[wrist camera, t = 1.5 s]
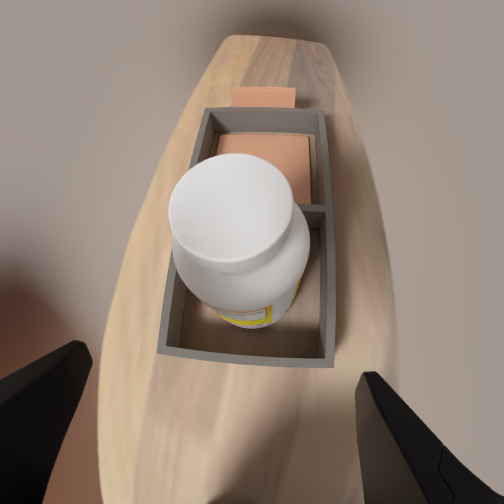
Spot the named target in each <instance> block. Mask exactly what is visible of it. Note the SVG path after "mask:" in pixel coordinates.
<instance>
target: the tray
mask: <svg viewBox="0 0 504 504" xmlns="http://www.w3.org/2000/svg"><path fill="white" fill-rule="evenodd" d="M231 95H232V102H233V107H219V108H205V111H204V114H203V118H202V121H201V125H200V128H199V132H198V136H197V140H196V143H195V147H194V151H193V155H192V159H191V163H190V167H189V170H190V169H191V168H192V167H194V166H195V165H197V164H198V163H200V162H202V161H204V160H206V159H208V158H209V156H210V151H211V147H212V142H213V138H214V133H215V132H231V131H255V132H288V133H306V134H315V143H316V157H317V173H318V192H319V205H315V204H311V185H310V160H309V142H308V137H306V136H288V135H256V134H228V135H220V139H219V144H218V148H217V154H216V156H218V155H222V154H229V153H243V154H249V155H254V156H257V157H260V158H262V159H264V160H266V161H268V162H270V163H271V164H273V165H274V166H275V167H277V168H278V169H279V170H280V171H281V172H282V173H283V174H284V176H285V177H286V179H287V181H288V182H289V184H290V186H291V189H292V193H293V198H294V202H295V203H296V204H297V205H298V206H299V208H300V209H301V211H302V213H303V215H304V217H305V219H306V222H307V225H308V229H320V319H319V344H318V359H306V358H279V357H261V356H247V355H235V354H225V353H215V352H206V351H198V350H190V349H183V348H179V346H180V337H181V328H182V319H183V311H184V303H185V296H186V288H187V286H186V285H185V283H184V282H183V280H182V279H181V277H180V276H179V274H178V272H177V269H176V266H175V263H174V259H173V253H172V251H171V257H170V263H169V269H168V275H167V281H166V287H165V294H164V301H163V308H162V315H161V323H160V331H159V339H158V348H157V353H158V354H164V355H170V356H177V357H184V358H191V359H198V360H206V361H215V362H224V363H234V364H246V365H259V366H275V367H301V368H334V353H335V326H336V259H335V230H334V212H333V196H332V183H331V172H330V161H329V151H328V142H327V134H326V126H325V118H324V111H323V110H316V109H302V108H295V88H285V87H232V90H231Z"/></svg>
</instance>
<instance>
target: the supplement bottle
mask: <svg viewBox="0 0 504 504" xmlns="http://www.w3.org/2000/svg"><path fill="white" fill-rule="evenodd" d="M168 211H169V212H168V215H169V223H170V226H171V229H172V232H173V240H172V253H173V259H174V263H175V266H176V269H177V272H178V274H179V276H180V277H181V279H182V280H183V282H184V283H185V285H186V286H187V287H188V288H189V289H190V291H191V292H192V293H193V294H194V295H195V296H197V297H198V298H199V299H200V300H201V301H202V302H204V303H205V304H206V305H207V306H209V307H210V308H211V309H212V310H213V311H214V312H216V313H217V314H218V315H219V316H220V317H222V318H223V319H224V320H226V321H228V322H229V323H231V324H233V325H236V326H239V327H242V328H249V329H254V328H262V327H266V326H268V325H271V324H273V323H275V322H276V321H278V320H279V319H280V318H282V317H283V316H284V315H285V314H286V312H287V311H288V310H289V308H290V307H291V305H292V303H293V301H294V298H295V296H296V293H297V290H298V287H299V284H300V281H301V278H302V275H303V273H304V270H305V267H306V264H307V260H308V256H309V251H310V235H309V229H308V225H307V222H306V219H305V217H304V215H303V213H302V211H301V209H300V208H299V206H298V205H297V204H296V203H295V202H294V198H293V193H292V189H291V186H290V184H289V182H288V181H287V179H286V177H285V176H284V174H283V173H282V172H281V171H280V170H279V169H278V168H277V167H275V166H274V165H273V164H271V163H270V162H268V161H266V160H264V159H262V158H260V157H257V156H254V155H249V154H243V153H229V154H222V155H218V156H214V157H211V158H208V159H206V160H204V161H202V162H200V163H198V164H197V165H195V166H194V167H192V168H191V169H190V170H189V171H188V172H186V173H185V175H184V176H183V177H182V178H181V179H180V181H179V182H178V183H177V185H176V186H175V188H174V190H173V192H172V195H171V198H170V202H169V208H168Z"/></svg>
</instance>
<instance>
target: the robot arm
mask: <svg viewBox="0 0 504 504" xmlns="http://www.w3.org/2000/svg"><path fill="white" fill-rule="evenodd" d="M92 363H93V360H92V357H91V355H90V353H89V350H88V348H87V345H86V344H85V343H84V342H82V341H78V340H73V341H71V342H70V343H68V344H66V345H64V346H62V347H60V348H58V349H56V350H55V351H53V352H51V353H49V354H47V355H45V356H43V357H41V358H39V359H38V360H36V361H34V362H32V363H30V364H28V365H26V366H25V367H23V368H21V369H19V370H17V371H15V372H13V373H11V374H10V375H8V376H6V377H4V378H2V379H1V380H0V504H42V502H43V499H44V496H45V492H46V489H47V485H48V483H49V479H50V476H51V473H52V471H53V468H54V464H55V462H56V459H57V456H58V454H59V451H60V448H61V445H62V443H63V440H64V438H65V435H66V433H67V430H68V428H69V426H70V423H71V421H72V418H73V416H74V413H75V411H76V409H77V407H78V404H79V402H80V399H81V397H82V394H83V391H84V388H85V385H86V382H87V379H88V376H89V373H90V370H91V367H92ZM355 402H356V429H357V443H358V450H359V457H360V465H361V473H362V482H363V491H364V501H365V504H504V496H501V495H500V494H498V493H496V492H494V491H493V490H492V489H491V488H490V487H489V486H487V485H486V484H485V483H484V482H483V481H481V480H480V479H479V478H478V477H477V476H475V475H474V474H473V473H472V472H471V471H470V470H469V469H468V468H466V467H465V466H464V465H463V464H462V463H461V462H460V461H459V460H458V459H457V458H456V457H455V456H454V455H453V454H452V453H451V452H450V451H449V449H448V448H447V447H446V446H443V443H442V442H441V441H440V440H439V439H438V438H437V436H436V435H435V434H434V433H433V432H432V431H431V430H430V429H429V428H428V427H427V426H426V424H424V422H423V421H422V420H421V419H420V418H419V417H418V416H417V415H416V414H415V413H414V411H413V410H412V409H411V408H410V407H409V406H408V405H407V404H406V403H405V402H404V401H403V400H402V399H401V398H400V396H399V395H398V394H397V393H396V392H395V391H394V390H393V389H392V388H391V387H390V386H389V385H388V383H387V382H386V381H385V380H384V379H383V378H382V377H381V376H380V375H379V374H378V373H377V372H375V371H370V372H363V373H362V375H361V378H360V380H359V383H358V385H357V388H356V391H355Z"/></svg>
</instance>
